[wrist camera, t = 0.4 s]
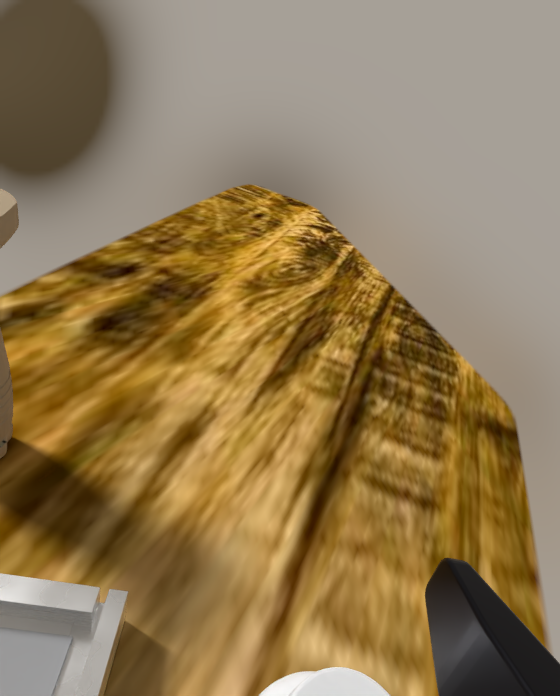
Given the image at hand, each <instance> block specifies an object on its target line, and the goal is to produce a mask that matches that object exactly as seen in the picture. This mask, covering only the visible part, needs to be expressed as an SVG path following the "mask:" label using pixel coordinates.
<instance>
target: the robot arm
mask: <svg viewBox="0 0 560 696" xmlns="http://www.w3.org/2000/svg"><path fill="white" fill-rule="evenodd" d="M425 599H426V607H427V615H428V622H429V630H430V637H431V644H432V652H433V659H434V667H435V674H436V681H437V687H438V693H439V696H560V664H559V662H558V661H557V660H556V659H555V658H554V657H553V656H552V655H551V654H550V653H549V651H548V650H547V649H546V648H545V647H544V646H543V645H542V644H541V643H540V642H539V640H538V639H537V638H536V637H535V636H534V635H533V634H532V633H531V632H530V631H529V629H528V628H527V627H526V626H525V625H524V624H523V623H522V622H521V621H520V619H519V618H518V617H517V616H516V615H515V614H514V613H513V612H512V611H511V610H510V608H509V607H508V606H507V605H506V604H505V603H504V602H503V601H502V600H501V599H500V597H499V596H498V595H497V594H496V593H495V592H494V591H493V590H492V589H491V588H490V586H489V585H488V584H487V583H486V582H485V581H484V580H483V579H482V578H481V577H480V575H479V574H478V573H477V572H476V571H475V570H474V569H473V568H472V567H471V566H470V565H469V564H468V563H467V562H465V561H462V560H457V559H451V558H444V559H443V560H441V562H440V563H439V565H438V567H437V568H436V570H435V572H434V573H433V575H432V577H431V579H430V580H429V582H428V584H427V587H426V592H425Z"/></svg>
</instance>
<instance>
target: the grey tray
mask: <svg viewBox="0 0 560 696" xmlns="http://www.w3.org/2000/svg"><path fill="white" fill-rule="evenodd" d="M127 597H128V591H121V590H114V589H109V592H108V595H107V598H106V601H105V603H100V587H93V586H86V585H79V584H71V583H64V582H57V581H50V580H43V579H36V578H29V577H22V576H15V575H8V574H0V696H104V692H105V689H106V685H107V682H108V678H109V675H110V671H111V667H112V664H113V660H114V657H115V653H116V650H117V646H118V642H119V639H120V635H121V632H122V628H123V625H124V621H125V614H126V606H127Z"/></svg>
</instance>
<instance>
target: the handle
mask: <svg viewBox="0 0 560 696" xmlns="http://www.w3.org/2000/svg"><path fill="white" fill-rule="evenodd" d="M18 225H19V220H18V208H17V201H16V200H15V198H14V197H13V196H12V195H11V194H9V193H7V192H6V191H4V190H2V189H0V248H1V247H2V246H3V245H4V244H5V243H6V242H7V241H8V240H9V239H10V238H11V237H12V235H13V234H14V233H15V231H16V230H17V228H18ZM12 417H13V390H12V381H11V374H10V367H9V362H8V358H7V354H6V350H5V346H4V342H3V337H2V333H1V329H0V458H1V457H3V456H4V455H5V454H6V452H7V442H8V440H10V439H11V437H12V432H13V424H12Z"/></svg>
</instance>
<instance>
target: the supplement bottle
mask: <svg viewBox="0 0 560 696" xmlns="http://www.w3.org/2000/svg"><path fill="white" fill-rule="evenodd" d="M259 696H390V695H389V694H388V693H387V692H386V691H385V690H384V689H383V688H382V687H381V686H380V685H379V684H378V683H377V682H376V681H374V680H373V679H371V678H370V677H368V676H366V675H365V674H363V673H361V672H359V671H356V670H352V669H349V668H344V667H332V668H326V669H322V670H319V671H317V672H313V671H305V672H298V673H293V674H290V675H288V676H285V677H283V678H281V679H279V680H277V681H275V682H274V683H272V684H271V685H269V686H268V687H267V688H266V689H265V690H264V691H263V692H262V693H261V694H260V695H259Z"/></svg>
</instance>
